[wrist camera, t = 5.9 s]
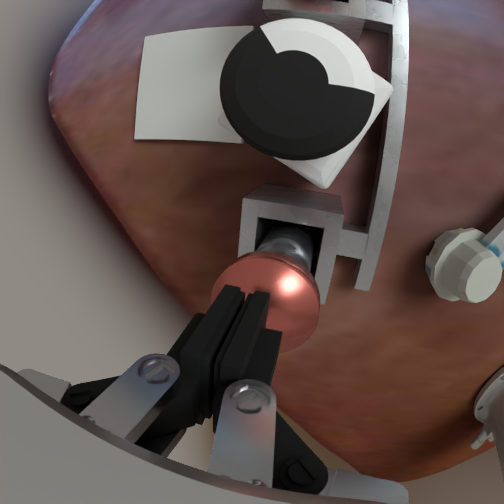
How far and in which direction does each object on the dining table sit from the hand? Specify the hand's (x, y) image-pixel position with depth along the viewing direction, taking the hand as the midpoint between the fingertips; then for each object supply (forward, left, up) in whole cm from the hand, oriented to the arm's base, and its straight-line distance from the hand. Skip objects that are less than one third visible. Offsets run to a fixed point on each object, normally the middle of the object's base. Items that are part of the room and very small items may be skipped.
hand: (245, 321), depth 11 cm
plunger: (0, 0, -9) cm, 9 cm away
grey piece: (+7, -21, -14) cm, 26 cm away
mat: (+11, +10, -14) cm, 20 cm away
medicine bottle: (+9, 0, -14) cm, 16 cm away
